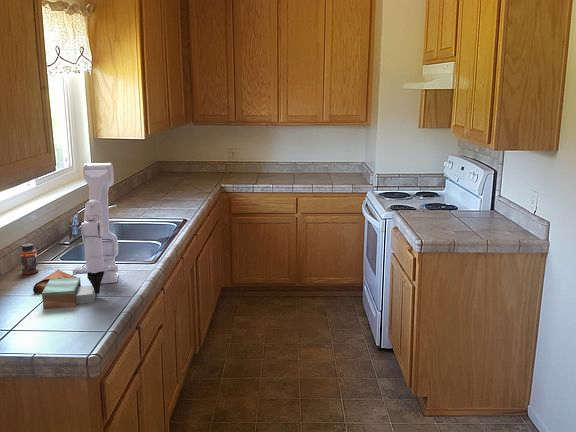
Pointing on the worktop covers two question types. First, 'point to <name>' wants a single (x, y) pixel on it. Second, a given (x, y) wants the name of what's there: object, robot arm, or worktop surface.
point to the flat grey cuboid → (85, 294)
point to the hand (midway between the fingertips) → (97, 292)
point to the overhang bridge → (60, 293)
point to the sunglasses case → (56, 275)
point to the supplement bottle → (29, 259)
